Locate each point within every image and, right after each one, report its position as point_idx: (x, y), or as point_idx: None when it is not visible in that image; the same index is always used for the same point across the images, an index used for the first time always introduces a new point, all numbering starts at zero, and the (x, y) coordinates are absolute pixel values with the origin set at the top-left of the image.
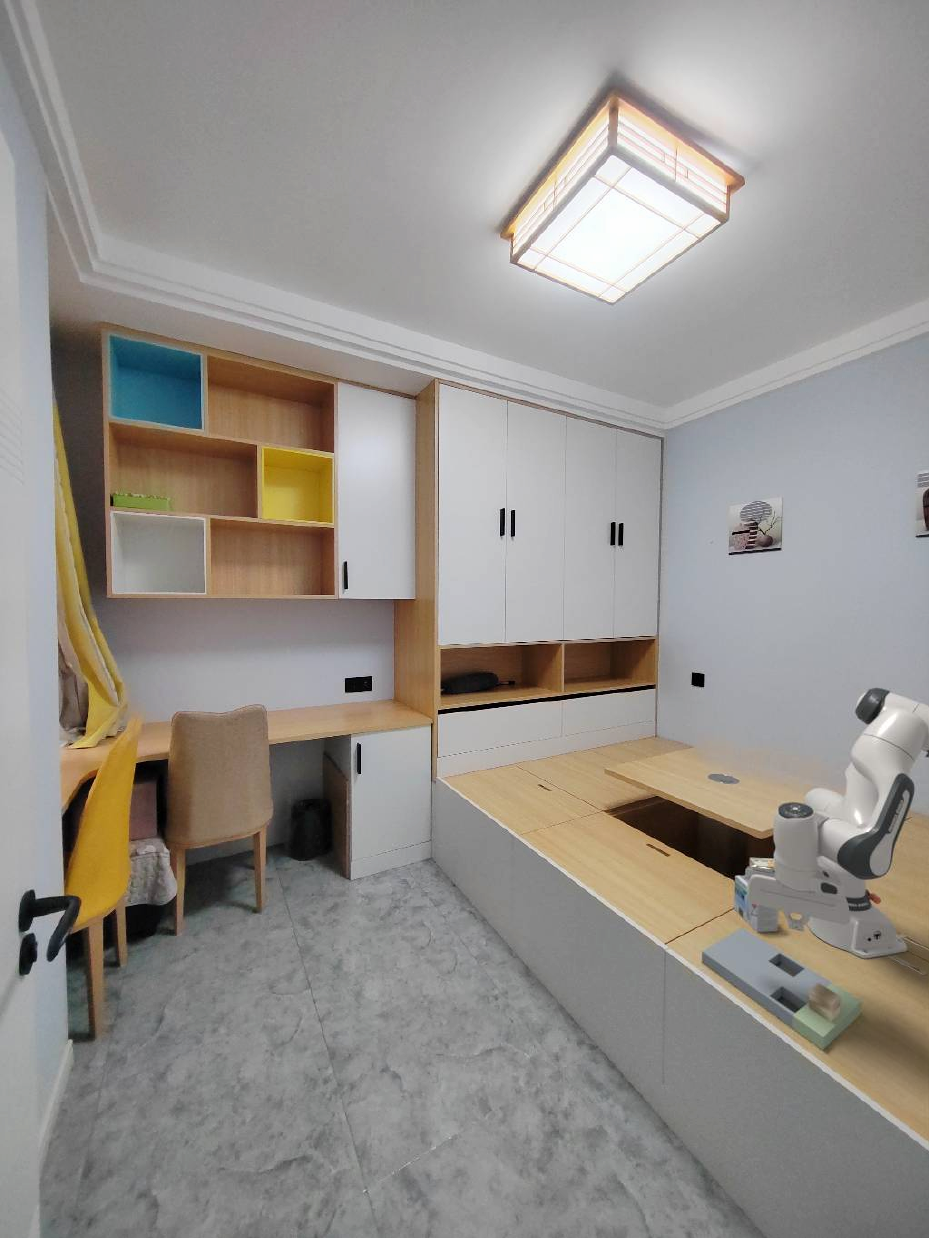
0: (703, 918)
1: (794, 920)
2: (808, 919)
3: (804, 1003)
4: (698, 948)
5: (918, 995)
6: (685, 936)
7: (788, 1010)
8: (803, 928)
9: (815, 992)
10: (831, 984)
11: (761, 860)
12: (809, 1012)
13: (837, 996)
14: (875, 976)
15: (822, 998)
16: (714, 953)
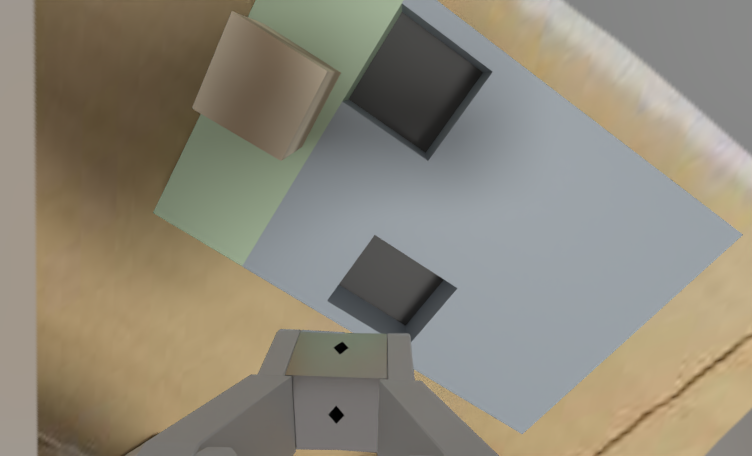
0: (632, 447)
1: (350, 424)
2: (155, 451)
3: (353, 107)
4: (696, 289)
5: (36, 344)
6: (734, 335)
7: (426, 10)
8: (272, 347)
9: (299, 76)
10: (245, 254)
11: None
12: (341, 43)
13: (205, 98)
14: (135, 376)
15: (271, 44)
16: (683, 244)
